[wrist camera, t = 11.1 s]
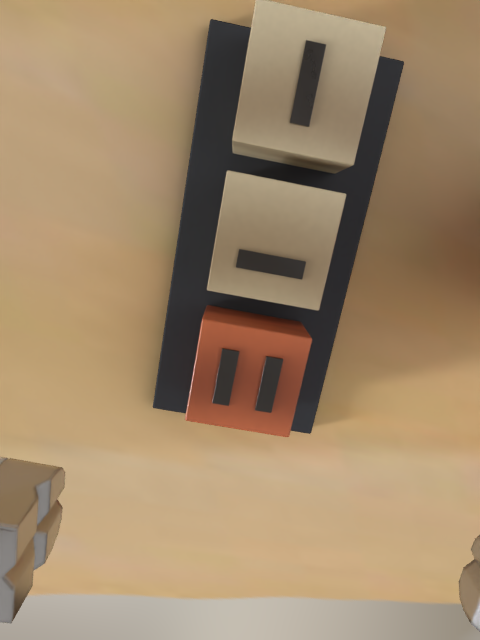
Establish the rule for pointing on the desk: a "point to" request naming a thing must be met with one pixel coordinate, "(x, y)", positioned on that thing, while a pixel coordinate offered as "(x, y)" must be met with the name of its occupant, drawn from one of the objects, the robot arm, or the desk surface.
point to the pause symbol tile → (248, 371)
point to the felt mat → (204, 208)
